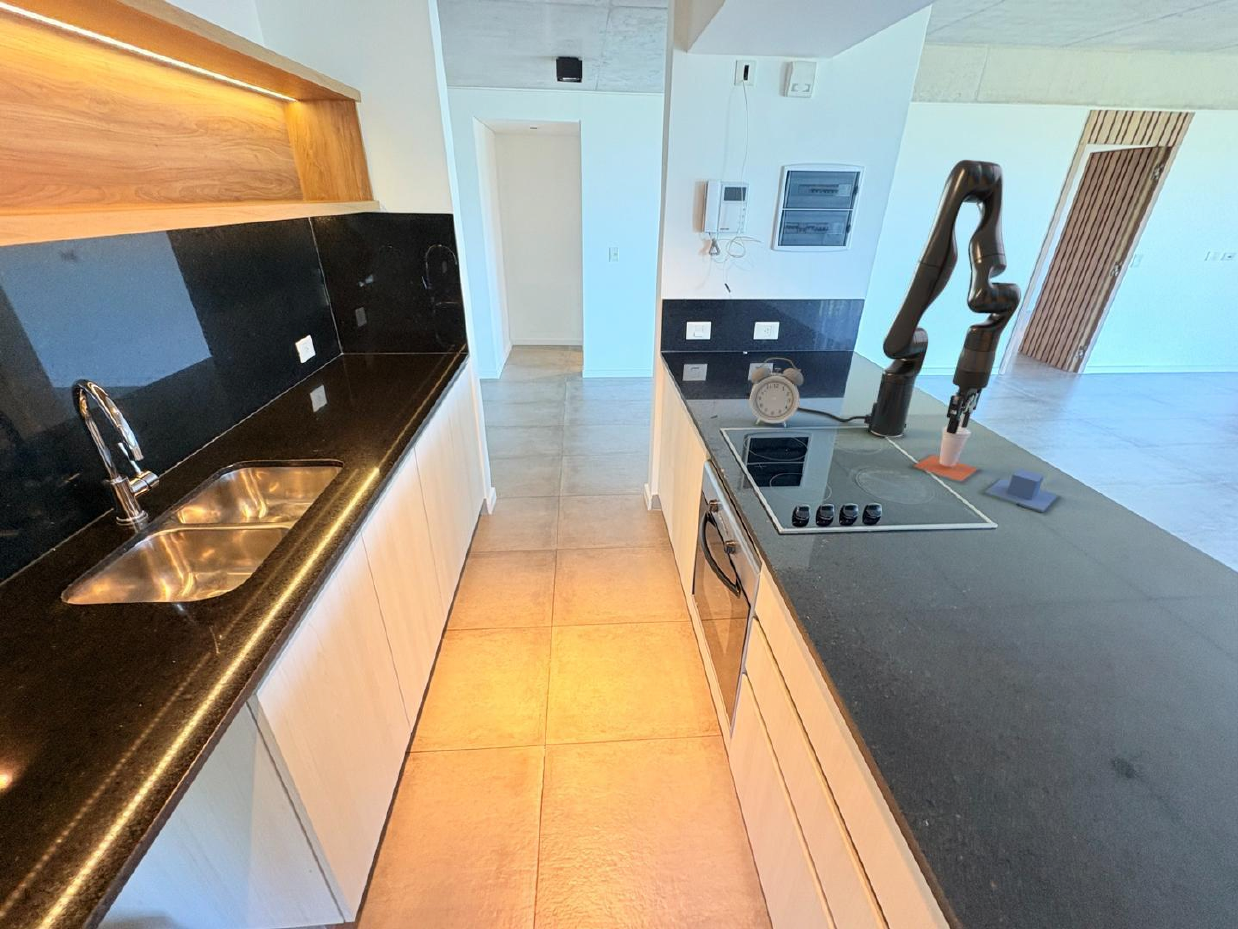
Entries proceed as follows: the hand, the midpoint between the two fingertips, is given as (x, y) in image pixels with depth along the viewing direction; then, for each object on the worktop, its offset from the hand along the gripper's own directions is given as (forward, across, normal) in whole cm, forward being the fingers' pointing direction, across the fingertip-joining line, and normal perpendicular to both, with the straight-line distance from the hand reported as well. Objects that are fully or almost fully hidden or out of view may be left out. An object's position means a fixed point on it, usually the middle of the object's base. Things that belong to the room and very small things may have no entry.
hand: (956, 429), depth 138 cm
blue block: (+11, +2, +18) cm, 21 cm away
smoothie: (+10, 0, 0) cm, 10 cm away
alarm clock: (+12, +6, -52) cm, 54 cm away
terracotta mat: (+11, 0, 0) cm, 11 cm away
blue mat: (+11, +2, +18) cm, 21 cm away
